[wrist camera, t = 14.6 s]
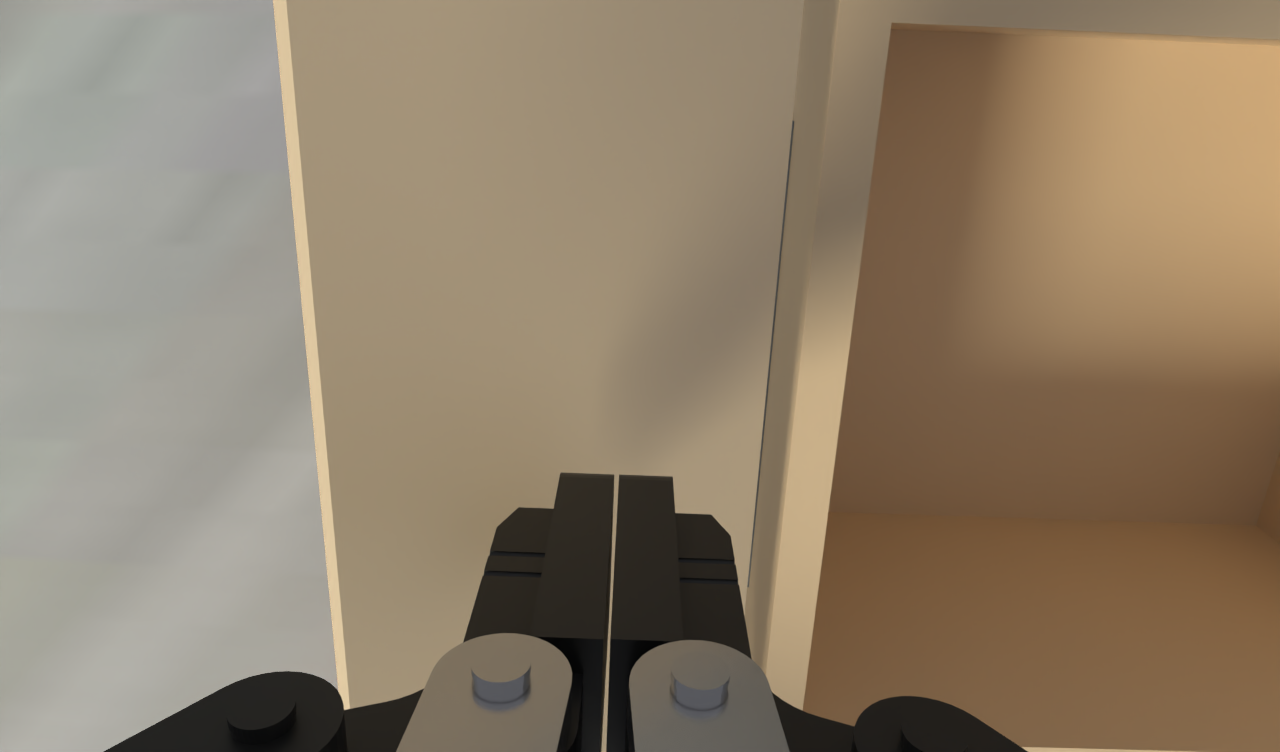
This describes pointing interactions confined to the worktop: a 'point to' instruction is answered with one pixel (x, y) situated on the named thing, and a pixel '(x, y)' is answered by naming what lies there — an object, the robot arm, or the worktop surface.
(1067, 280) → the carton
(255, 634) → the worktop surface
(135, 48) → the worktop surface
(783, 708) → the robot arm
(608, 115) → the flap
